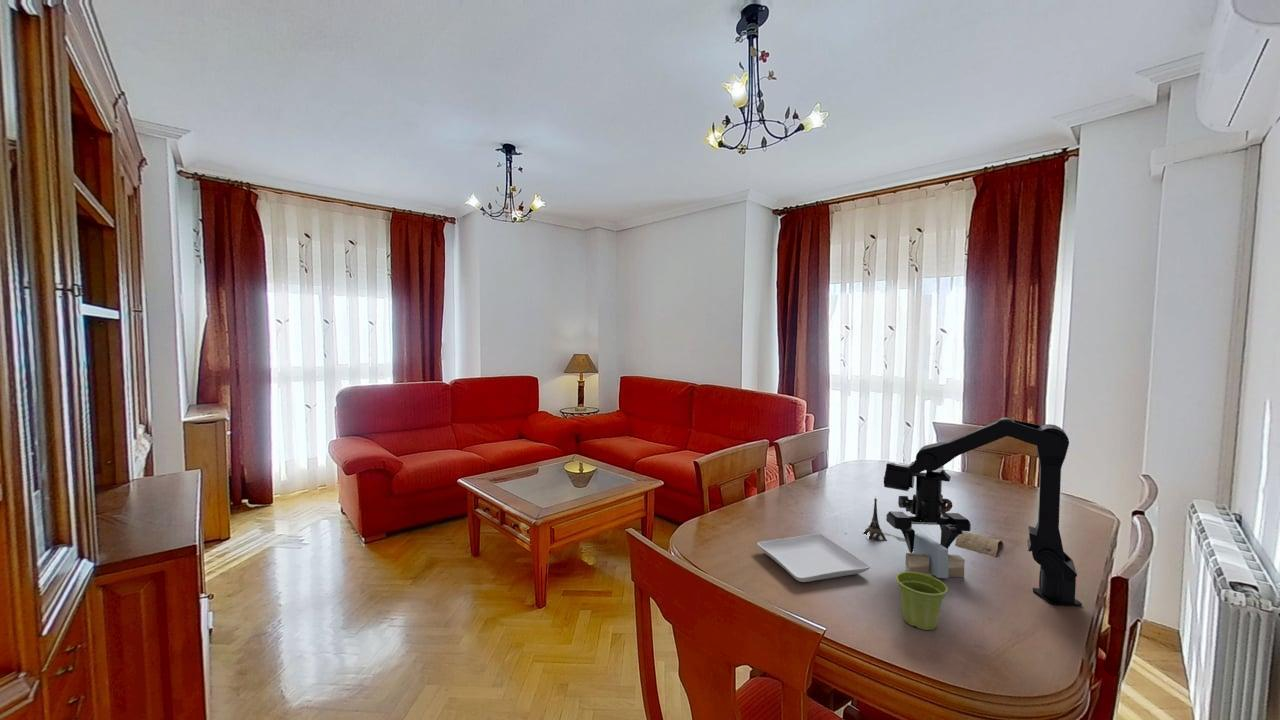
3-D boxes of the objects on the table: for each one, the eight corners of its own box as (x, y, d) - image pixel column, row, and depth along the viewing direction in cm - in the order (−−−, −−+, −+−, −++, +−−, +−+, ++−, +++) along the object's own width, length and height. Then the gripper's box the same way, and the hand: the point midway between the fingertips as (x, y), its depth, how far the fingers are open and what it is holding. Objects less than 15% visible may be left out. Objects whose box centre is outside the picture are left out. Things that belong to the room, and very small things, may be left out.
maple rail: (964, 577, 122) (964, 559, 122) (910, 575, 123) (910, 557, 123) (958, 572, 125) (958, 554, 124) (905, 570, 126) (905, 553, 125)
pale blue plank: (948, 578, 120) (948, 549, 120) (937, 577, 120) (937, 549, 120) (923, 559, 132) (923, 533, 132) (913, 558, 132) (913, 532, 132)
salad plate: (798, 591, 116) (798, 577, 116) (754, 552, 137) (754, 540, 136) (872, 579, 122) (873, 565, 121) (820, 544, 142) (820, 532, 142)
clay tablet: (996, 560, 132) (996, 550, 132) (952, 549, 139) (953, 539, 139) (1003, 543, 143) (1004, 534, 143) (963, 533, 150) (963, 525, 150)
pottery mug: (909, 513, 167) (910, 489, 171) (924, 520, 171) (925, 497, 175) (946, 514, 158) (946, 489, 161) (961, 522, 162) (961, 498, 165)
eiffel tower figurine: (909, 541, 144) (910, 497, 143) (895, 551, 137) (896, 505, 137) (858, 526, 155) (859, 485, 155) (843, 535, 149) (844, 492, 148)
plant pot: (927, 609, 108) (928, 571, 107) (956, 635, 98) (958, 593, 98) (886, 610, 108) (887, 571, 107) (911, 636, 98) (912, 594, 98)
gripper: (948, 485, 134) (946, 541, 135) (878, 484, 136) (877, 538, 136) (973, 499, 123) (970, 559, 124) (896, 497, 124) (894, 557, 125)
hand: (926, 552), depth 128 cm, fingers open, 8 cm apart
